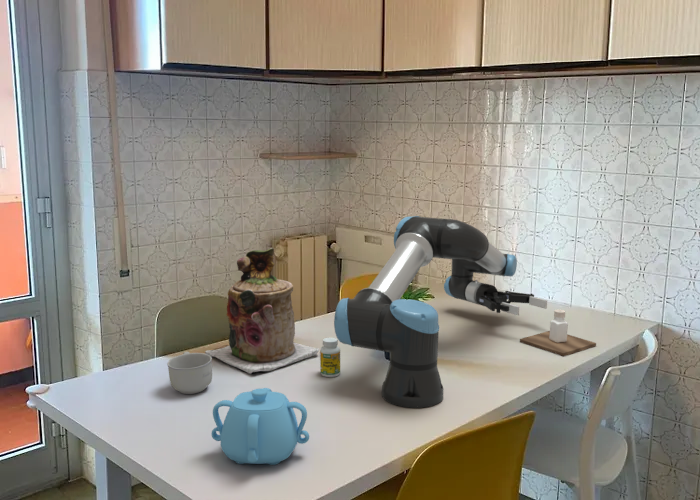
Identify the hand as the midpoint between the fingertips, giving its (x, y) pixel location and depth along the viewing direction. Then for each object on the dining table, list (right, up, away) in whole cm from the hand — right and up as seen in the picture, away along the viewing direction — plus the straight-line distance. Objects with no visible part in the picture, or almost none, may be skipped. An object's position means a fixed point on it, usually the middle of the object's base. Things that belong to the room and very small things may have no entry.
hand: (532, 307), depth 215 cm
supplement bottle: (-63, -15, -32) cm, 72 cm away
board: (+6, -11, -6) cm, 14 cm away
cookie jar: (-83, -13, -18) cm, 86 cm away
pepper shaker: (+6, -10, -6) cm, 13 cm away
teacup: (-98, -17, -41) cm, 108 cm away
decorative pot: (-76, -23, -75) cm, 109 cm away
